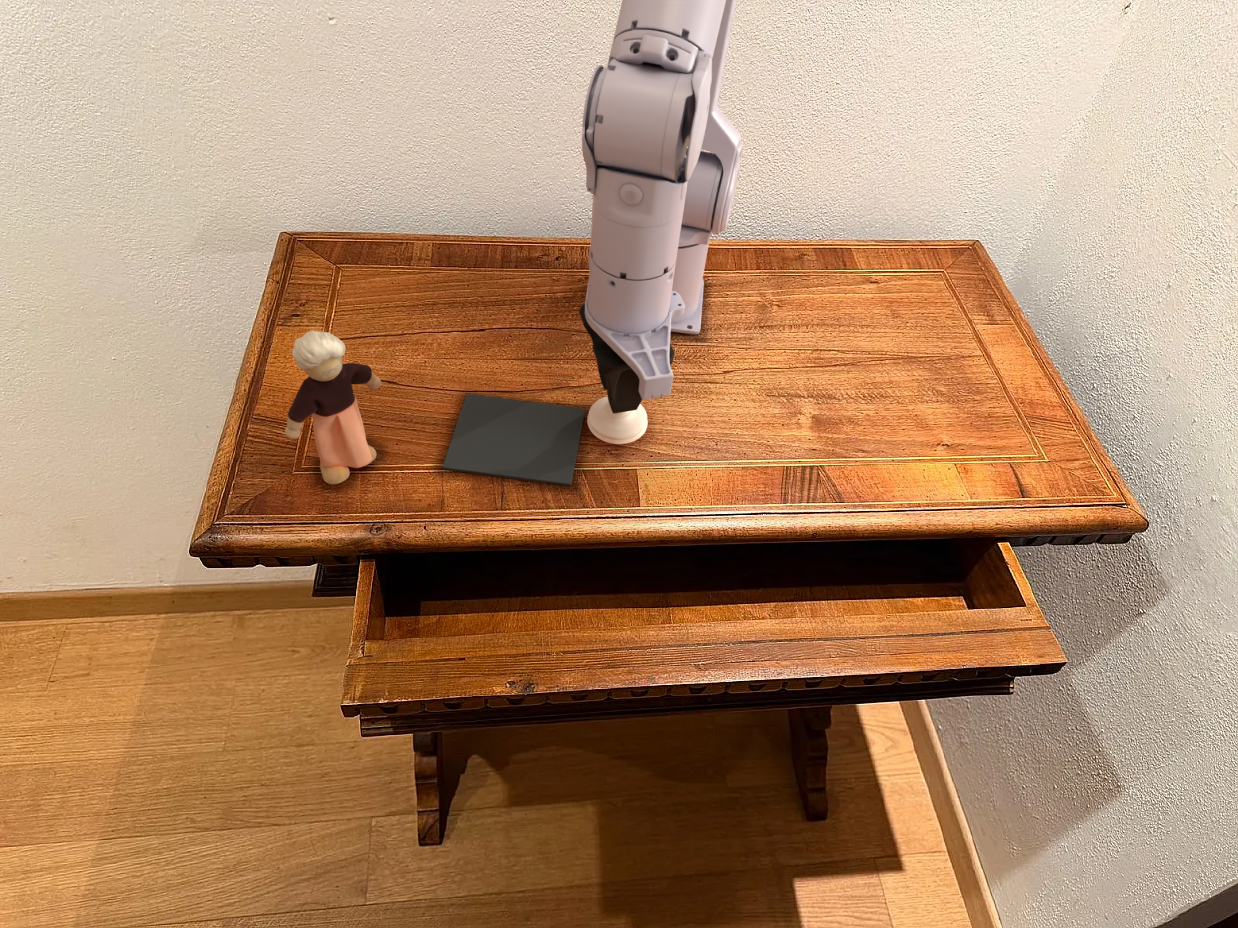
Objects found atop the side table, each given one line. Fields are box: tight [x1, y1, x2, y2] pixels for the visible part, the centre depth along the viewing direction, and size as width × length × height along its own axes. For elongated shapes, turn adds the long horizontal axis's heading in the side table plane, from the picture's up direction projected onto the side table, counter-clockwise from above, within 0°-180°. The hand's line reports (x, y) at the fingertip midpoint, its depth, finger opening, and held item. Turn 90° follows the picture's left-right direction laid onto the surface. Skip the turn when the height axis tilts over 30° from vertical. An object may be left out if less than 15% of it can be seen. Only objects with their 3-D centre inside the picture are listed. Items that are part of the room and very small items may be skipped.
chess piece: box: [586, 396, 649, 445], centre depth 61 cm, size 5×5×10 cm
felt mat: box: [442, 393, 586, 487], centre depth 64 cm, size 10×8×1 cm
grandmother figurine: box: [284, 330, 382, 485], centre depth 57 cm, size 8×4×13 cm, turn 148°
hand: (619, 397), depth 63 cm, fingers closed on chess piece
